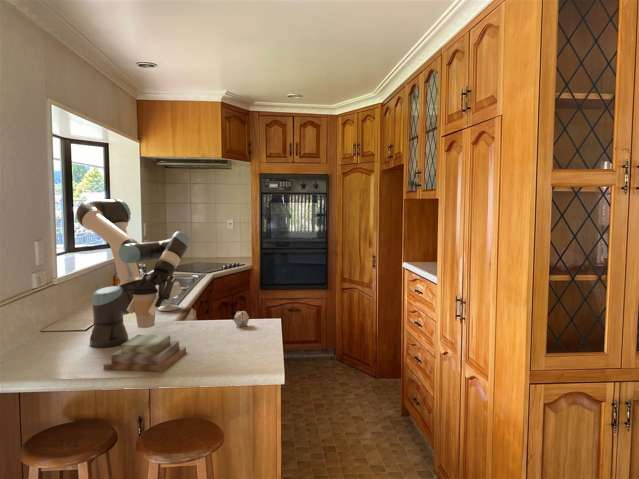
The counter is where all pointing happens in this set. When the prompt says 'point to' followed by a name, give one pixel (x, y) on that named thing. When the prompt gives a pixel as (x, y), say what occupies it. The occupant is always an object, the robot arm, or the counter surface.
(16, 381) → the counter surface
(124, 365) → the tower base
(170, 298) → the chalice
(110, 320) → the robot arm
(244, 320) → the game die
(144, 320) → the coffee cup
